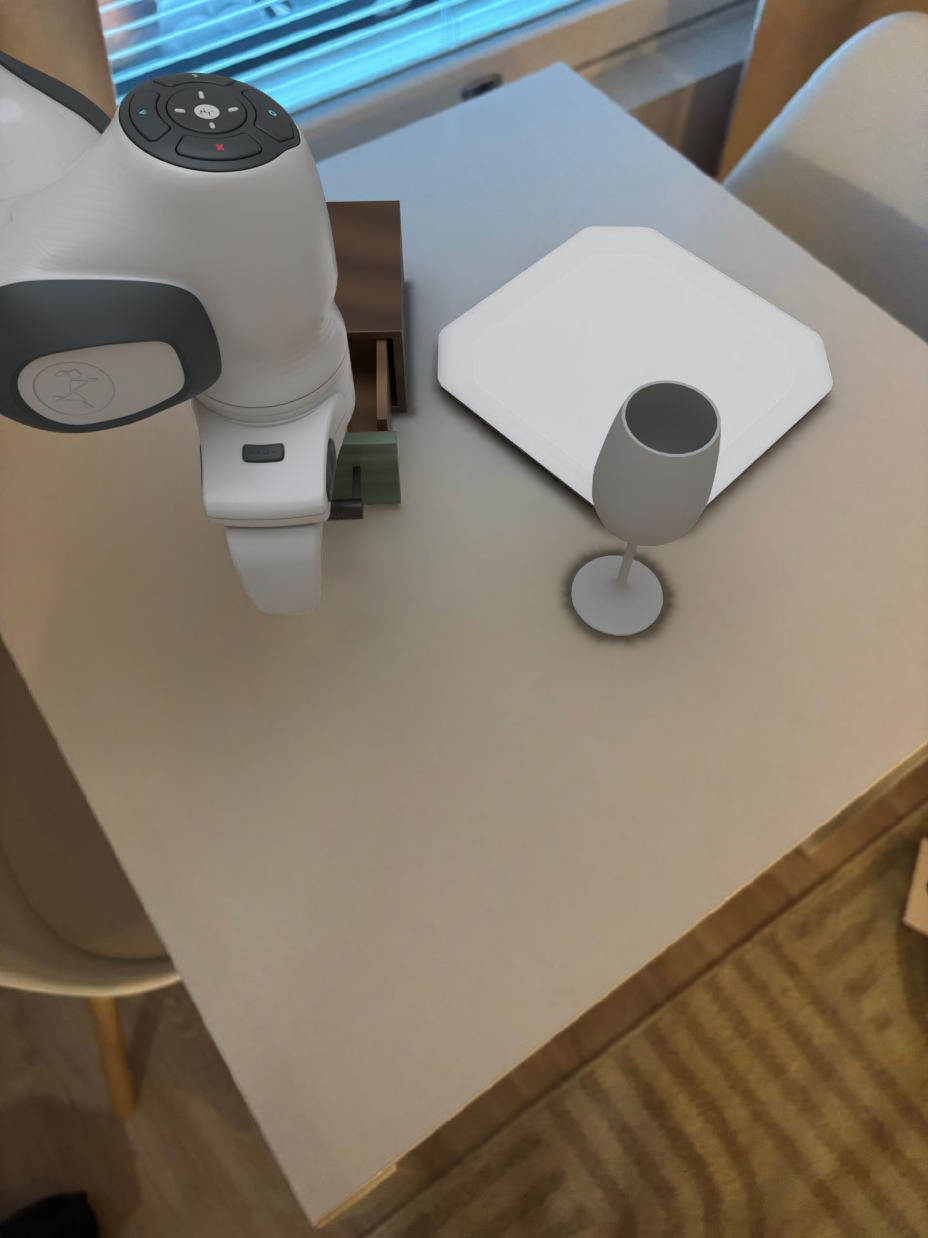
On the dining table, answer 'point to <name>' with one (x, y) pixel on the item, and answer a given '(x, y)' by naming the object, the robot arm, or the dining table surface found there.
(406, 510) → the dining table surface
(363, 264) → the cabinet
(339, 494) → the drawer
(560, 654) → the dining table surface
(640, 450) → the wineglass
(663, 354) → the plate
